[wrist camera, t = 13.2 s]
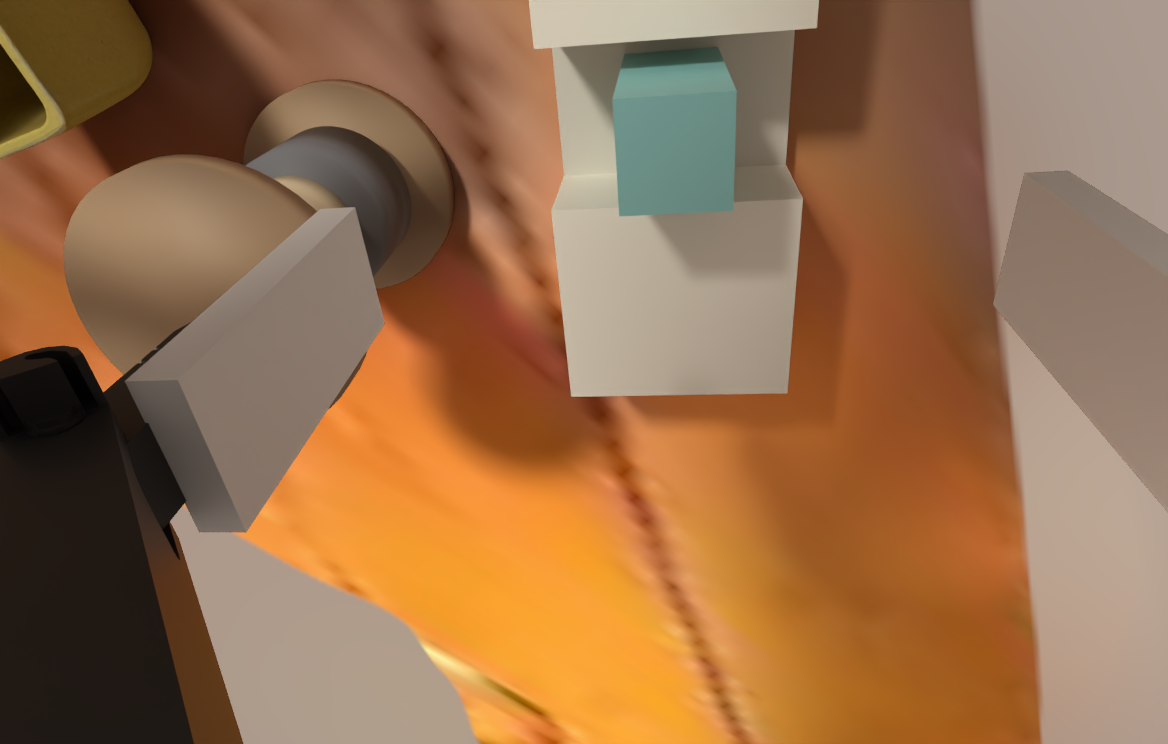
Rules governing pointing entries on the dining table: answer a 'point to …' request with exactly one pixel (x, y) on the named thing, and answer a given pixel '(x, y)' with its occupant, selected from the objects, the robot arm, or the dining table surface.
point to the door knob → (254, 212)
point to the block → (674, 133)
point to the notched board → (675, 241)
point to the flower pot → (65, 65)
